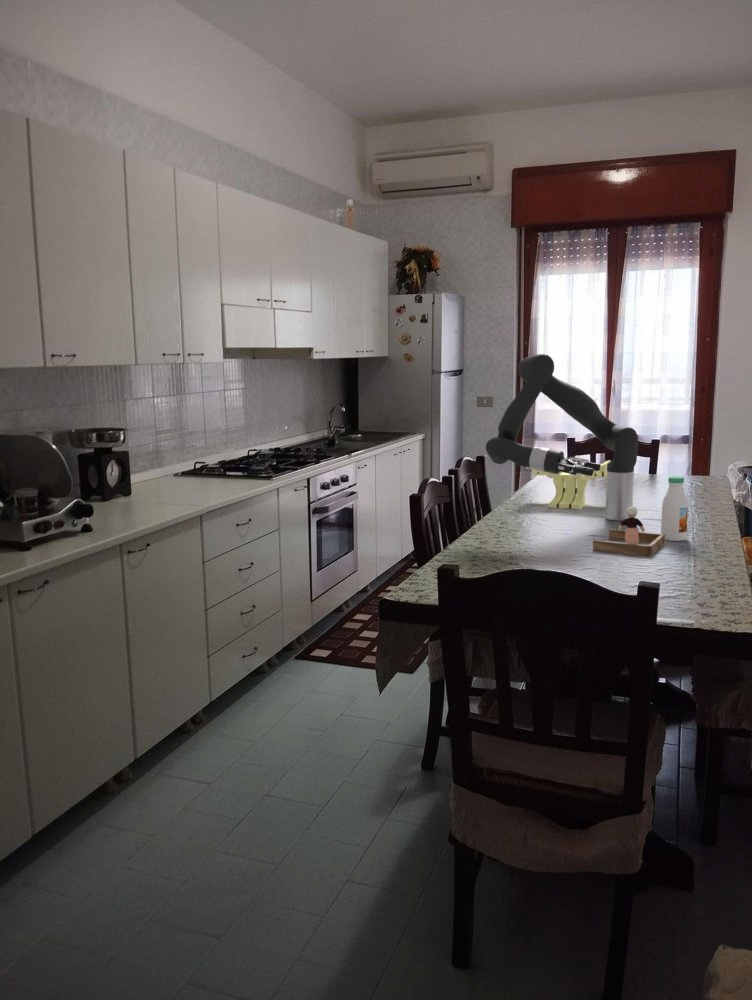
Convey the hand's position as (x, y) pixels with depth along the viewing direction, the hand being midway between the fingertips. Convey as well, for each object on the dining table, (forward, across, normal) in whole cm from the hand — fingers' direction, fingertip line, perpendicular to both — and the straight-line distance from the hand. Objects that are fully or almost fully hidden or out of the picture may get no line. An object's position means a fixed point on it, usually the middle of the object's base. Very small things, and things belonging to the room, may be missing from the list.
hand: (596, 470), depth 248 cm
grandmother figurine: (+15, -3, +21) cm, 26 cm away
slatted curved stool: (-21, +58, +29) cm, 68 cm away
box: (+14, -3, +21) cm, 25 cm away
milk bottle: (+25, +13, +20) cm, 35 cm away
